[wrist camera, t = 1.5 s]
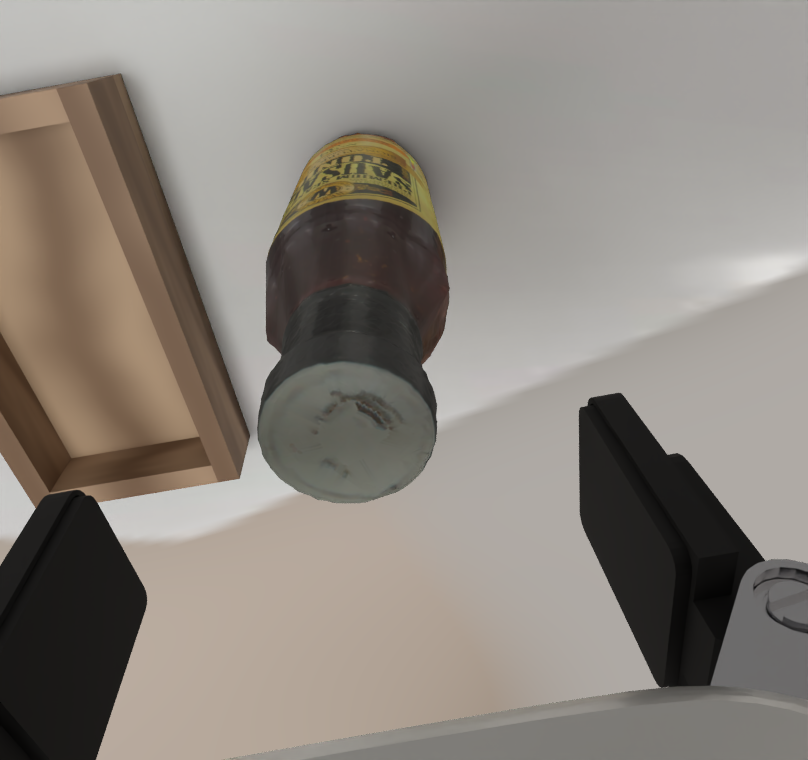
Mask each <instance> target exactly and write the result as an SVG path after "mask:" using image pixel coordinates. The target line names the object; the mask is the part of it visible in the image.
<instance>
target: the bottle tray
mask: <svg viewBox="0 0 808 760" xmlns="http://www.w3.org/2000/svg"><path fill="white" fill-rule="evenodd" d="M249 438H250V434H249V432H248V429H247V426H246V423H245V420H244V418H243V415H242V412H241V409H240V406H239V404H238V401H237V398H236V395H235V392H234V390H233V387H232V384H231V381H230V378H229V376H228V373H227V370H226V367H225V364H224V362H223V359H222V356H221V353H220V350H219V348H218V345H217V342H216V339H215V336H214V334H213V331H212V328H211V325H210V322H209V320H208V317H207V314H206V311H205V308H204V306H203V303H202V300H201V297H200V295H199V292H198V289H197V286H196V283H195V281H194V278H193V275H192V272H191V269H190V267H189V264H188V261H187V258H186V255H185V253H184V250H183V247H182V244H181V241H180V239H179V236H178V233H177V230H176V227H175V225H174V222H173V219H172V216H171V213H170V211H169V208H168V205H167V202H166V199H165V197H164V194H163V191H162V188H161V185H160V183H159V180H158V177H157V174H156V172H155V169H154V166H153V163H152V160H151V158H150V155H149V152H148V149H147V146H146V144H145V141H144V138H143V135H142V132H141V130H140V127H139V124H138V121H137V118H136V116H135V113H134V110H133V107H132V104H131V102H130V99H129V96H128V93H127V90H126V88H125V85H124V82H123V79H122V76H121V74H116V75H110V76H105V77H99V78H94V79H88V80H83V81H77V82H72V83H66V84H61V85H55V86H50V87H44V88H39V89H33V90H28V91H22V92H17V93H11V94H6V95H0V453H1V454H2V456H3V457H4V459H5V461H6V462H7V464H8V465H9V467H10V468H11V470H12V472H13V473H14V475H15V476H16V478H17V479H18V481H19V483H20V484H21V486H22V487H23V489H24V490H25V492H26V494H27V495H28V497H29V498H30V500H31V501H32V503H33V505H34V506H35V508H37V506H38V504H39V503H40V501H41V500H42V499H43V498H44V496H46V495H49V494H54V493H60V492H66V491H71V490H81V491H82V492H84V493H85V495H91V496H92V497H94V498H95V500H96V501H97V502H103V501H109V500H115V499H121V498H127V497H133V496H139V495H145V494H151V493H157V492H163V491H169V490H175V489H181V488H187V487H193V486H199V485H205V484H211V483H217V482H223V481H229V480H235V479H240V475H241V471H242V467H243V462H244V458H245V454H246V450H247V446H248V442H249Z"/></svg>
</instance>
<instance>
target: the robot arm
mask: <svg viewBox="0 0 808 760" xmlns="http://www.w3.org/2000/svg"><path fill="white" fill-rule="evenodd" d="M579 471H580V476H579V477H580V516H581V521H582V525H583V528H584V531H585V533H586V535H587V537H588V539H589V541H590V543H591V546H592V547H593V550H594V552H595V554H596V556H597V558H598V560H599V563H600V564H601V567H602V569H603V571H604V573H605V575H606V577H607V579H608V582H609V584H610V586H611V588H612V590H613V592H614V594H615V596H616V599H617V601H618V603H619V605H620V607H621V609H622V611H623V613H624V615H625V618H626V620H627V622H628V624H629V626H630V628H631V630H632V632H633V634H634V637H635V639H636V641H637V643H638V645H639V647H640V650H641V652H642V654H643V656H644V658H645V660H646V662H647V664H648V666H649V669H650V671H651V673H652V675H653V677H654V679H655V681H656V683H657V684H658V685H659V687H661V688H658V689H648V690H638V691H628V692H621V693H615V694H608V695H602V696H596V697H589V698H582V699H576V700H569V701H562V702H556V703H549V704H543V705H536V706H531V707H524V708H518V709H513V710H507V711H501V712H495V713H489V714H484V715H477V716H472V717H466V718H460V719H454V720H448V721H442V722H437V723H431V724H424V725H419V726H413V727H407V728H401V729H395V730H389V731H384V732H378V733H372V734H366V735H361V736H355V737H349V738H343V739H338V740H332V741H326V742H321V743H315V744H309V745H304V746H298V747H292V748H286V749H281V750H275V751H270V752H264V753H258V754H253V755H247V756H242V757H236V758H230V759H224V760H808V564H807V563H803V562H797V561H793V560H787V559H783V560H782V559H771V560H768V561H765V560H764V558H763V557H762V556H761V554H760V553H759V552H758V551H757V549H756V548H755V547H754V545H753V544H752V543H751V542H750V540H749V539H748V538H747V537H746V535H745V534H744V533H743V531H742V530H741V529H740V527H739V526H738V525H737V524H736V522H735V521H734V520H733V518H732V517H731V516H730V515H729V513H728V512H727V511H726V509H725V508H724V507H723V506H722V504H721V503H720V502H719V501H718V499H717V498H716V497H715V496H714V494H713V493H712V491H711V490H710V489H709V488H708V486H707V485H706V484H705V482H704V481H703V480H702V479H701V477H700V476H699V475H698V473H697V472H696V471H695V470H694V468H693V467H692V466H691V464H690V463H689V462H688V461H687V460H686V459H685V458H684V457H683V456H682V455H680V454H678V453H676V454H670V455H667V454H666V453H665V451H664V450H663V448H662V447H661V446H660V444H659V443H658V442H657V440H656V439H655V438H654V436H653V435H652V434H651V433H650V431H649V430H648V428H647V427H646V425H645V424H644V423H643V421H642V420H641V419H640V417H639V416H638V415H637V413H636V412H635V411H634V409H633V408H632V407H631V405H630V404H629V403H628V401H627V400H626V398H625V397H624V396H623V395H622V394H621V393H615V394H609V395H604V396H598V397H593V398H590V399H589V401H588V406H585V407H581V408H580V410H579ZM146 605H147V595H146V591H145V588H144V586H143V584H142V582H141V581H140V579H139V577H138V575H137V573H136V572H135V570H134V568H133V566H132V565H131V563H130V561H129V559H128V557H127V556H126V554H125V552H124V550H123V548H122V546H121V545H120V543H119V541H118V539H117V537H116V536H115V534H114V532H113V530H112V528H111V527H110V525H109V523H108V521H107V519H106V518H105V516H104V514H103V512H102V510H101V509H100V507H99V505H98V503H97V501H96V500H95V498H94V497H92V496H91V495H85V493H84V492H82V491H81V490H71V491H66V492H60V493H54V494H49V495H46V496H44V498H43V499H42V500H41V501H40V503H39V504H38V506H37V508H36V509H35V511H34V513H33V514H32V516H31V517H30V519H29V521H28V522H27V524H26V525H25V527H24V529H23V530H22V532H21V533H20V535H19V537H18V538H17V540H16V541H15V543H14V545H13V546H12V548H11V550H10V551H9V553H8V554H7V556H6V557H5V559H4V561H3V562H2V564H1V566H0V760H96V757H97V754H98V751H99V748H100V745H101V742H102V739H103V736H104V733H105V730H106V727H107V724H108V721H109V718H110V715H111V712H112V709H113V706H114V703H115V700H116V697H117V694H118V691H119V688H120V685H121V682H122V679H123V676H124V673H125V670H126V667H127V664H128V661H129V658H130V655H131V652H132V649H133V646H134V642H135V640H136V637H137V634H138V631H139V628H140V625H141V622H142V619H143V616H144V612H145V610H146ZM663 687H667V688H663Z"/></svg>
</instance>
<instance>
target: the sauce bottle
mask: <svg viewBox="0 0 808 760" xmlns="http://www.w3.org/2000/svg"><path fill="white" fill-rule="evenodd" d="M449 289H450V287H449V283H448V276H447V274H446V258H445V253H444V249H443V245H442V240H441V236H440V232H439V229H438V224H437V220H436V216H435V212H434V209H433V205H432V202H431V198H430V193H429V189H428V185H427V181H426V179H425V176H424V174H423V172H422V170H421V168H420V167H419V165H418V164H417V162H416V161H415V160H414V159H413V157H412V156H411V155H410V154H409V153H407V152H406V151H405V150H404V149H403V148H401V147H400V146H399V145H398V144H396V143H395V141H393V140H391V139H389V138H386V137H382V136H377V135H369V134H360V133H357V134H354V135H350V136H343V137H340V138H338V139H337V140H334V141H333V142H331V143H329V144H327V145H325V146H324V147H322V148H321V149H320V150H319V151H318V152H317V153H315V154H314V155H313V157H312V158H311V159H310V160H309V162H308V163H307V165H306V167H305V168H304V170H303V173H302V175H301V177H300V179H299V181H298V184H297V186H296V188H295V190H294V193H293V195H292V198H291V200H290V202H289V205H288V207H287V209H286V211H285V213H284V215H283V218H282V221H281V223H280V226H279V229H278V231H277V233H276V235H275V237H274V240H273V243H272V245H271V247H270V250H269V252H268V257H267V261H266V334H267V341H268V342H269V343H270V344H271V345H272V346H274V347H275V348H276V349H277V350H278V351H279V352H280V353H281V359H280V361H279V362H278V363H277V365H276V366H275V368H274V369H273V370H272V371H271V372H270V374H269V376H268V378H267V380H266V383H265V387H264V392H263V395H262V398H261V405H260V410H259V415H258V427H257V431H258V441H259V444H260V447H261V450H262V455H263V457H264V459H265V460H266V462H267V463H268V464H269V466H270V468H271V469H272V470H273V471H274V472H275V473H276V475H277V476H278V477H279V478H280V479H281V480H283V481H284V482H285V483H287V484H288V485H290V486H292V487H293V488H294V489H296V490H297V491H299V492H301V493H304V494H307V495H310V496H312V497H314V498H315V499H317V500H324V501H330V502H334V503H363V502H368V501H371V500H374V499H377V498H380V497H383V496H386V495H389V494H392V493H396V492H398V491H399V490H401V489H403V488H404V487H406V486H407V485H408V484H410V483H411V482H412V481H413V480H414V479H415V478H416V477H417V476H418V475H419V474H420V473H421V472H422V471H423V469H424V467H425V465H426V463H427V461H428V460H429V458H430V457H431V454H432V451H433V447H434V445H435V442H436V434H437V420H436V410H437V403H436V399H435V395H434V391H433V388H432V386H431V384H430V382H429V380H428V377H427V374H426V372H425V371H424V370H423V368H422V364H423V363H424V362H425V361H426V360H427V359H428V358H429V357H430V356H431V353H432V352H433V350H434V348H435V347H436V345H437V343H438V341H439V340H440V338H441V336H442V334H443V331H444V328H445V322H446V315H447V309H448V304H449Z"/></svg>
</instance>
